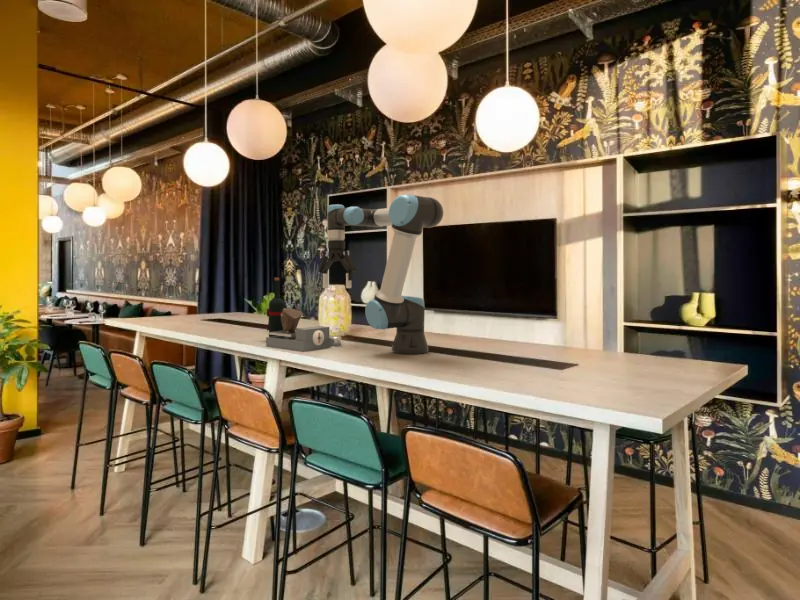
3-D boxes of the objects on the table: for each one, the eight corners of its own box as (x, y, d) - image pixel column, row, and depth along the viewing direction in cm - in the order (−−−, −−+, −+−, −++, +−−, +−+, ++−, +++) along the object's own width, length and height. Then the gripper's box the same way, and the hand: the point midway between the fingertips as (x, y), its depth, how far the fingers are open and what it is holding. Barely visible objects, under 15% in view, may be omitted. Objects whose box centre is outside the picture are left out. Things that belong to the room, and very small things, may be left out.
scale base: (332, 347, 236) (332, 327, 236) (305, 351, 223) (305, 330, 223) (293, 342, 251) (293, 323, 251) (266, 346, 238) (265, 326, 238)
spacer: (343, 345, 243) (343, 336, 242) (335, 346, 239) (335, 337, 238) (335, 344, 246) (335, 335, 245) (327, 345, 242) (327, 337, 241)
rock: (303, 322, 233) (283, 309, 231) (290, 340, 235) (270, 328, 233) (306, 313, 245) (287, 301, 243) (294, 330, 247) (275, 318, 245)
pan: (314, 336, 241) (314, 331, 241) (291, 339, 230) (290, 334, 230) (293, 333, 250) (293, 329, 249) (269, 336, 238) (269, 332, 238)
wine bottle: (274, 339, 260) (273, 277, 258) (289, 341, 255) (289, 277, 253) (261, 341, 254) (261, 277, 252) (277, 343, 248) (276, 277, 246)
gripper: (363, 239, 236) (364, 287, 237) (321, 241, 250) (322, 287, 251) (352, 238, 230) (353, 288, 231) (309, 241, 244) (310, 288, 245)
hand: (337, 288), depth 241 cm, fingers open, 13 cm apart
